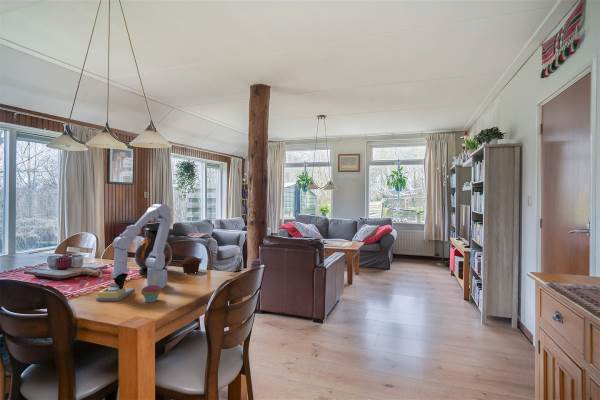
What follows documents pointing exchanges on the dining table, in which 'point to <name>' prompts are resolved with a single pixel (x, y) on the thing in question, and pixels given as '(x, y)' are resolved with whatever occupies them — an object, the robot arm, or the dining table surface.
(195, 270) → the muffin
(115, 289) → the cart
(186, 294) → the dining table surface
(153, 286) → the cupcake
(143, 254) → the amphora vase
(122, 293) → the dock
